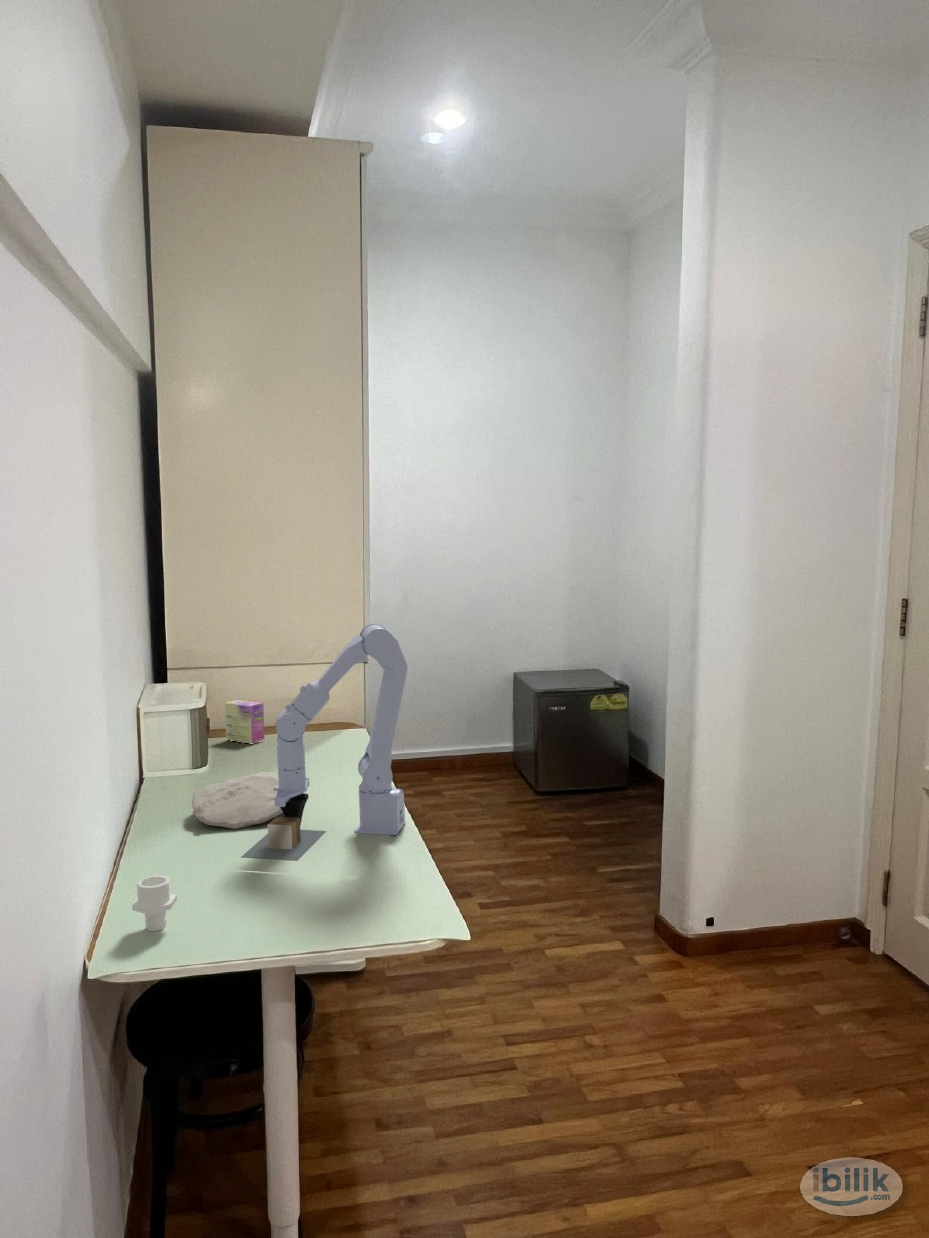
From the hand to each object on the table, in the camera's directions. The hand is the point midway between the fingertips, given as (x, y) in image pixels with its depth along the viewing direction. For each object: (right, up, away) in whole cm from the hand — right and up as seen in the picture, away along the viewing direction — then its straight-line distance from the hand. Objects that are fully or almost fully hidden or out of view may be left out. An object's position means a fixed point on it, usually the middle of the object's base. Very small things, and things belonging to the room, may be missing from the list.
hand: (294, 829), depth 199 cm
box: (-29, +8, +82) cm, 88 cm away
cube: (-1, +1, -3) cm, 4 cm away
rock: (-14, 0, +19) cm, 23 cm away
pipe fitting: (-16, -7, -42) cm, 45 cm away
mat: (-1, -2, -5) cm, 5 cm away
